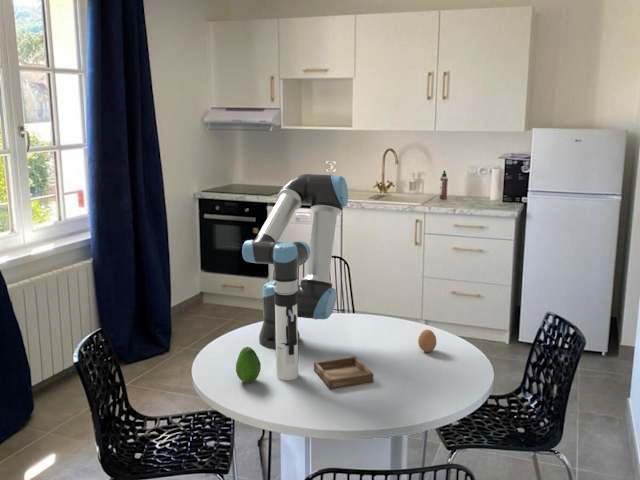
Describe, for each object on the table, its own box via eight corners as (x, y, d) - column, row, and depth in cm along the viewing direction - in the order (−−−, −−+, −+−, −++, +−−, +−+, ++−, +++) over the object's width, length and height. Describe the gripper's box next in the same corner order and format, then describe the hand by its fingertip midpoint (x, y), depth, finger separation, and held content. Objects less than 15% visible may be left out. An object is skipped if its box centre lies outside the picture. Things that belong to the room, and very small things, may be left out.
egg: (414, 350, 234) (414, 329, 232) (426, 346, 237) (427, 325, 236) (427, 356, 229) (428, 334, 227) (439, 352, 232) (440, 330, 230)
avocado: (237, 388, 205) (235, 352, 202) (235, 377, 213) (234, 343, 210) (262, 385, 207) (261, 350, 204) (259, 375, 214) (258, 341, 211)
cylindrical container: (295, 381, 210) (294, 307, 204) (273, 379, 211) (272, 306, 205) (300, 371, 217) (299, 300, 211) (279, 370, 218) (278, 299, 212)
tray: (314, 370, 217) (313, 362, 217) (355, 364, 222) (355, 356, 222) (329, 389, 204) (329, 380, 203) (373, 382, 209) (373, 373, 208)
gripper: (266, 284, 215) (267, 348, 220) (283, 302, 197) (284, 372, 202) (288, 281, 218) (289, 345, 223) (307, 299, 199) (307, 368, 205)
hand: (287, 358), depth 212 cm, fingers closed on cylindrical container, 7 cm apart
